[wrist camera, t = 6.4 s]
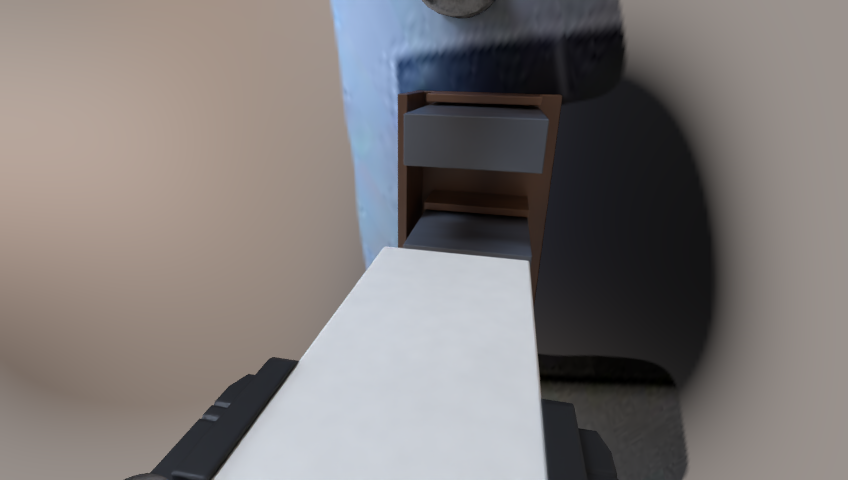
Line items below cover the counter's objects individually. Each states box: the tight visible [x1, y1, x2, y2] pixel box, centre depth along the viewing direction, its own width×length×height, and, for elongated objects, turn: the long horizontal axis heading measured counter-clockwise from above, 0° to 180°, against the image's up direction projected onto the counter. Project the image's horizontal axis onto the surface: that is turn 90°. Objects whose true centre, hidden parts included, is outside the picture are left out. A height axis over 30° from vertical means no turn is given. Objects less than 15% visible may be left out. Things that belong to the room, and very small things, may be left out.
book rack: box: [398, 90, 562, 307], centre depth 27 cm, size 10×22×13 cm, turn 178°
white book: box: [211, 247, 548, 480], centre depth 12 cm, size 6×2×12 cm, turn 88°
